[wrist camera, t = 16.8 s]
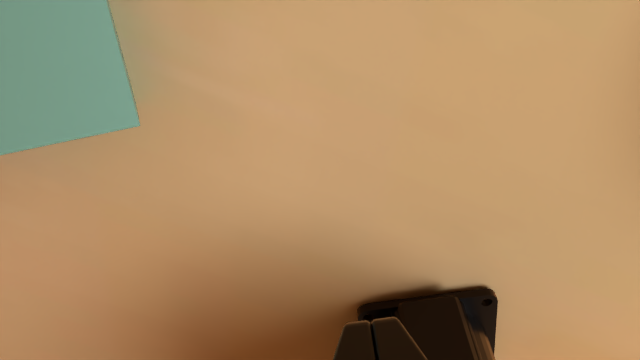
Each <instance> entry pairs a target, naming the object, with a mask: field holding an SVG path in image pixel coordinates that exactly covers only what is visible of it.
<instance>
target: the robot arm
mask: <svg viewBox="0 0 640 360" xmlns="http://www.w3.org/2000/svg"><path fill="white" fill-rule="evenodd" d="M497 303H498V300H497V297H496V295H495V292H494V291H493V290H491V289H479V290H471V291H463V292H456V293H448V294H440V295H433V296H425V297H417V298H410V299H402V300H394V301H386V302H379V303H371V304H365V305H362V306H361V307H359V308H358V310H357V316H358V321H356V322H349V323H346V324H345V325H344V327H343V329H342V332H341V335H340V338H339V341H338V345H337V348H336V351H335V354H334V357H333V360H495V357H494V347H495V332H496V318H497ZM367 314H369V315H367Z"/></svg>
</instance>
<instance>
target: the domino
mask: <svg viewBox="0 0 640 360" xmlns="http://www.w3.org/2000/svg"><path fill="white" fill-rule="evenodd" d="M137 126H140V122H139V117H138V112H137V107H136V102H135V99H134V95H133V91H132V88H131V84H130V80H129V76H128V73H127V69H126V65H125V62H124V58H123V54H122V50H121V47H120V43H119V39H118V36H117V32H116V28H115V24H114V21H113V17H112V13H111V10H110V6H109V2H108V0H0V155H4V154H9V153H13V152H18V151H23V150H28V149H32V148H37V147H42V146H47V145H51V144H56V143H61V142H66V141H70V140H75V139H80V138H85V137H89V136H94V135H99V134H104V133H108V132H113V131H118V130H123V129H127V128H132V127H137Z"/></svg>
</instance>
